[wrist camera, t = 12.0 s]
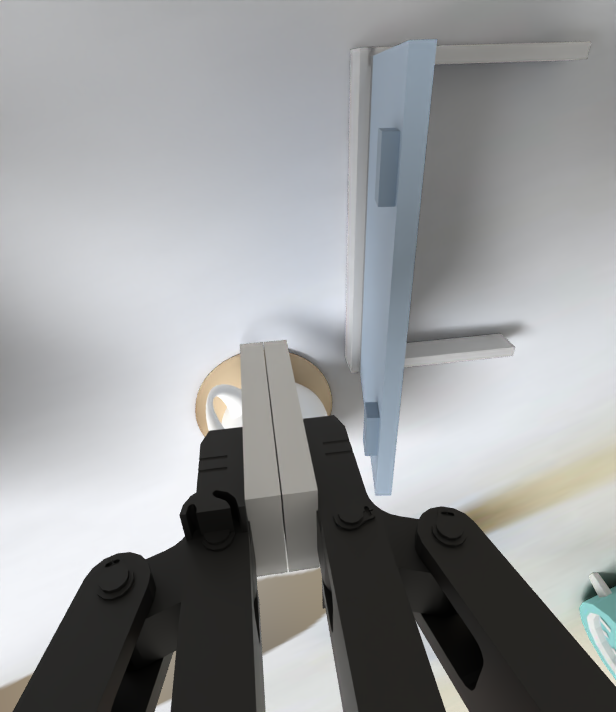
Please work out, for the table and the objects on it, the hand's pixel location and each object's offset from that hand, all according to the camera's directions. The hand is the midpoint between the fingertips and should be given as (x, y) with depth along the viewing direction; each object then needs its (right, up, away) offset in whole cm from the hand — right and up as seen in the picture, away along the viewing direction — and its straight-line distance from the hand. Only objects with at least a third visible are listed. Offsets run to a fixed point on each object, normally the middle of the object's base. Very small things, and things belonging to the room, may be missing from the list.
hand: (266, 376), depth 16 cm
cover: (+6, +5, +8) cm, 11 cm away
